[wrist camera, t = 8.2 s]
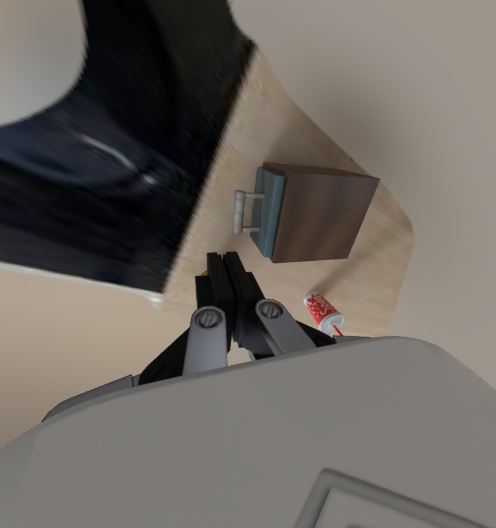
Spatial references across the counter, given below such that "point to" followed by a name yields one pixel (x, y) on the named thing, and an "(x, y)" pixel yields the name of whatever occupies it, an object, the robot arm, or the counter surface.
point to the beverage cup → (324, 313)
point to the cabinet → (320, 212)
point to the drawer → (262, 209)
